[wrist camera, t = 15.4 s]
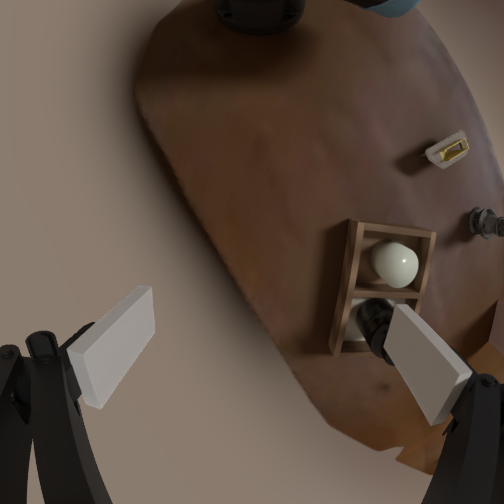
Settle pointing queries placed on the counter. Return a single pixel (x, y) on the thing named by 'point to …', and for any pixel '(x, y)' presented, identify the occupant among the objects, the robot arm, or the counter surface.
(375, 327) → the supplement bottle
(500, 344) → the greeting card
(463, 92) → the counter surface
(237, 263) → the counter surface
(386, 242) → the pale green dome
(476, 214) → the salt shaker
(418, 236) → the caddy
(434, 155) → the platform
